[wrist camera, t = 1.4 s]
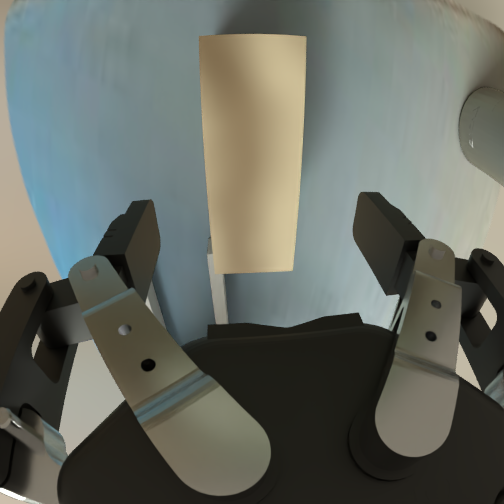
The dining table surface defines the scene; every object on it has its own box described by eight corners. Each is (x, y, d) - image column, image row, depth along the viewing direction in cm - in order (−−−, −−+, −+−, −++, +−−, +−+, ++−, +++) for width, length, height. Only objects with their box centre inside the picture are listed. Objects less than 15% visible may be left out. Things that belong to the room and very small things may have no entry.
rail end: (278, 46, 18) (306, 36, 11) (275, 212, 27) (291, 277, 20) (211, 46, 18) (198, 36, 11) (219, 214, 27) (215, 281, 20)
